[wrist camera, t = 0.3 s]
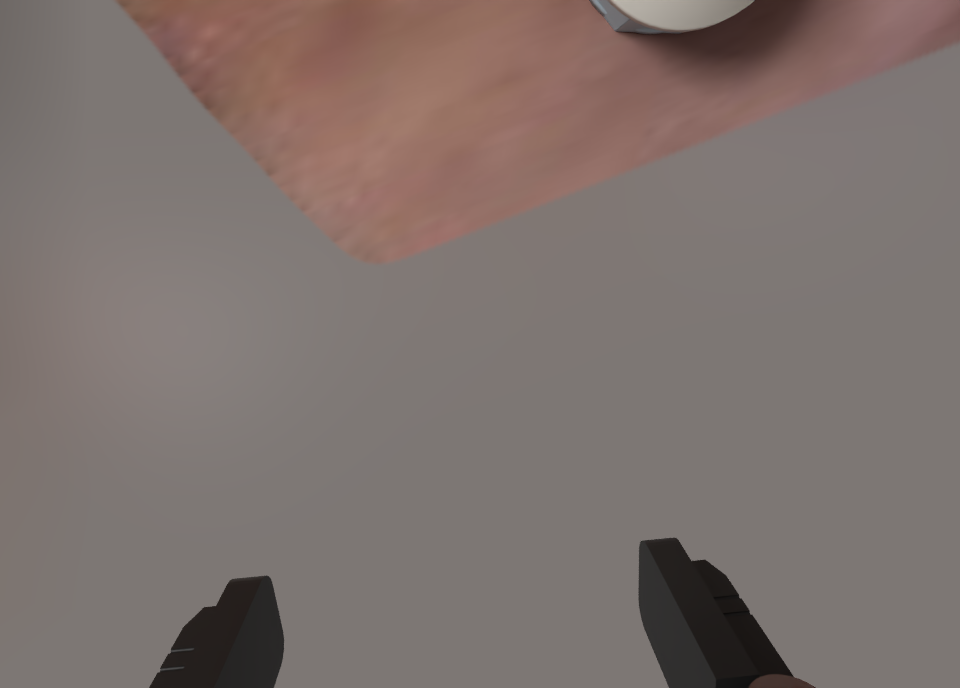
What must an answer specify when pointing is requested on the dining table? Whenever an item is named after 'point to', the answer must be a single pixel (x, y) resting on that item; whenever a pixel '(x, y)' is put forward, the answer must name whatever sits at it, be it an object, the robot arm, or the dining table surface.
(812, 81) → the dining table surface
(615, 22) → the bowl
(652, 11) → the lid
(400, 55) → the dining table surface
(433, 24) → the dining table surface
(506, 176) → the dining table surface
